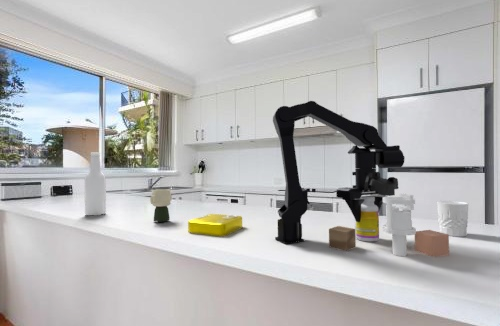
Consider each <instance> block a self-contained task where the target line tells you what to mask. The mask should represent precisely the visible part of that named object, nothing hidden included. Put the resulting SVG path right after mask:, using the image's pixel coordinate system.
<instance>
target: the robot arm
mask: <svg viewBox="0 0 500 326" xmlns="http://www.w3.org/2000/svg"><path fill="white" fill-rule="evenodd" d="M308 117H309V118H311V119H313V120H315V121H317V122H319V123H321V124H323V125H325V126H326V127H329V128H330V129H333V130H335V131H337V132H339V133H341V134H342V135H343V136H345V138H346V139H347V140H348V141H349V142H350V143H352V144H354V145H353V146H352V148H351V149H349V150H348V152H347V153H348V154H349V155H350V154H354V164H355V165H354V166H355V167H354V168H355V169H354V170H355V171H352V176H355V177H354V179H355V185H353V184H352V187H349V186H348V187H338V189H336V191H335V192H336V194H335V195H336V198H340V199H342V200H343V201H345V204H346V205H347V206H348V208H349V209H350V212H351V215H353V218H354V221H355V220H356V221H357V222H360V219H361V204H362V203H363V202H364V200H365V199H361V196H362V195H367V196H374V197H375V201H374V204H375V205H376V206H377V207H378V209H379V211H380V210H381V207H382V204H383V199H382V198H383V197H393V196H395V194H396V193H395V191H396V190H399V180H398V178H397V177H394V176H389V177H388V178H383V177H381V172H380V171H377V167H378V168H379V169H400V168H402V167H403V166H404V163H405V160H406V159H405V155H404V153H403V151H402V150H401V147H400V145H387V144H386V143H385V141H384V140H383V139H382V137H381V136H380V135H379V130H378V129H377V127H375V126H374V125H370V124H367V123H365V122H364V123H363V122H357V121H353V120H350V119H348V118H347V117H344V116H342V115H341V114H338V113H337V112H334V111H332V110H330V109H329V108H326V107H325V106H323V105H320V104H319V103H317V102H316V101H314V100H309V101H307V102H304V103H299V104H295V105H292V106H287V105H283V106H280V107H278V108H277V109H276V111H275V112H274V115H273V116H272V123H273V126H274V129H275V131H276V134H277V136H278V140H279V143H280V151H281V159H282V165H283V171H284V172H283V173H284V180H285V191H284V204H283V205H281V206H280V208H279V209H278V210H277V214H278V216H279V219H277V236H275V237H274V239H275V240H276V241H278V242H280V243H283V244H286V245H291V244H294V243H295V244H296V243H302V242H305V238H303V225H302V222H301V221H302V220H301V219H302V216H303V215H305V213H306V212H307V211H308V209H309V207H308V205H310V204H311V203H310V201H309V199H308V196H309V195H308V194H309V192H308V189H306V188H304V187H302V186H301V184H300V178H299V170H298V169H299V168H298V164H297V163H298V162H297V156H296V155H297V154H296V148H295V142H294V134H295V133H294V132H295V123H296V122H297V121H299V120H302V119H305V118H308ZM372 150H373V151H372Z"/></svg>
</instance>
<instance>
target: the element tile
mask: <svg viewBox="0 0 500 326" xmlns="http://www.w3.org/2000/svg"><path fill="white" fill-rule="evenodd" d="M187 226H188V227H187V229H188V230H187V231H188V233H189V232H191V233H190V234H195V233H197V234H196V235H204V236H205V235H206V236H212V237H214V236H215V237H227V236H228V235H230V234H232V233H234V231H235V232H236V231H238V230H241V229H243V216H241V215H234V214H215V213H208V214H206V215H203V216H198V217H196V218H192V219H189V220H188V222H187Z"/></svg>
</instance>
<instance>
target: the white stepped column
mask: <svg viewBox="0 0 500 326" xmlns="http://www.w3.org/2000/svg"><path fill="white" fill-rule="evenodd" d="M382 199H383V203H384V204H385V216H386V217H385V220H386V222H385V224H384V225H382V228H383V229H382V232H384V233H387V234H391V235H392V236H391V240H392V241H391V244H392V249H391V250H392V253H391V254H393V255H395V256H399V257H407V255H408V253H407V236H415V234H416V231H417V230H416V229H417V228H416V227H414V226H413V221H412V220H413V219H412V211H413V210H415V209H414V205H416V198H414V195H413V194H407V193H400V194H399V196H386V197H383V198H382ZM383 203H382V204H383ZM396 205H402V206H399V207H396Z"/></svg>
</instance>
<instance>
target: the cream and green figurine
mask: <svg viewBox="0 0 500 326" xmlns="http://www.w3.org/2000/svg"><path fill="white" fill-rule="evenodd" d="M151 194H152V195H150V197H149V198H150V200H149V201H150V204H151V205H152V206H154V207H155V208H154V213H153V214H154V215H153V222H158V223H160V222H167V221H170V212H169V208H168V206H170V205H171V201H172V196H173V195H172V193H171V189H165V188H164V189H153V190H152V191H151ZM159 221H160V222H159Z"/></svg>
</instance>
